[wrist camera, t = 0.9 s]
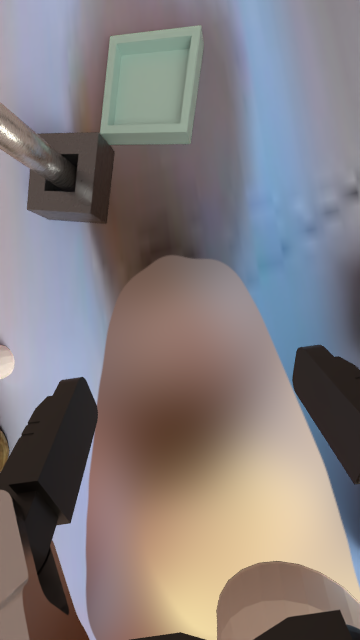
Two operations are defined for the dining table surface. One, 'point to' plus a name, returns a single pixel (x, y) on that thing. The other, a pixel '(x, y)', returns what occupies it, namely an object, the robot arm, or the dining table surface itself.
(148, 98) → the tray
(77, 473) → the robot arm
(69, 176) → the pin
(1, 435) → the vase
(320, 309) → the dining table surface
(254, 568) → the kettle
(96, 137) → the block
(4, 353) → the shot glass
